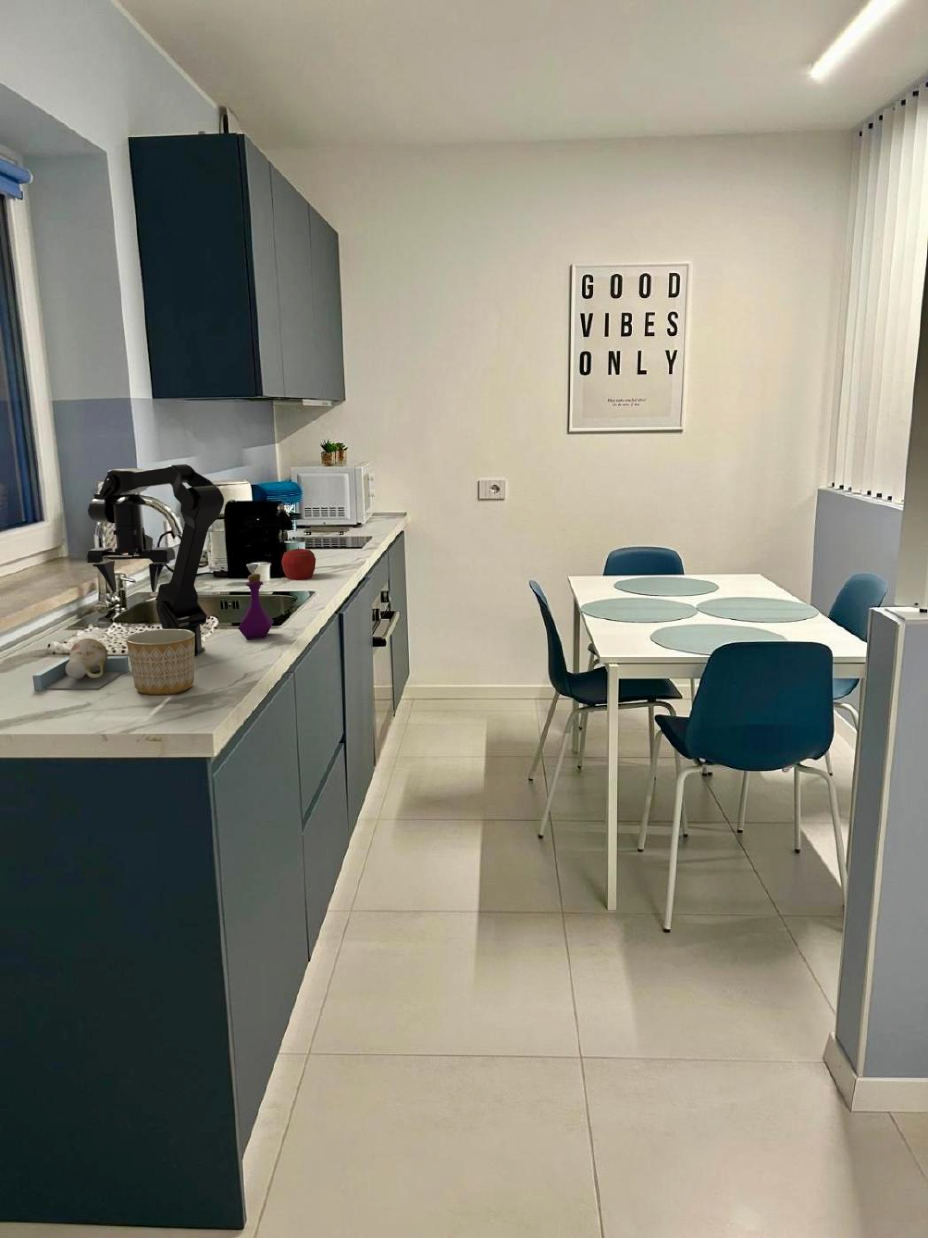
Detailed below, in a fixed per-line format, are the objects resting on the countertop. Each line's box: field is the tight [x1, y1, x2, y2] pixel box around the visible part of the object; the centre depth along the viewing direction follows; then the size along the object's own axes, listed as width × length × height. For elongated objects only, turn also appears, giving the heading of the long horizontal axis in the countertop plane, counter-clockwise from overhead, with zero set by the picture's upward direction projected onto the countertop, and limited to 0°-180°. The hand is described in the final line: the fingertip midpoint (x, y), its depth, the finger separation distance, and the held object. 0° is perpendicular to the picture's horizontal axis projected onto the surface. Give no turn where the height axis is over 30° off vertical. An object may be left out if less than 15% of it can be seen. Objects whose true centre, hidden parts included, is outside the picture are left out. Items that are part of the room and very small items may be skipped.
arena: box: [32, 656, 130, 691], centre depth 189 cm, size 13×14×3 cm
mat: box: [45, 671, 125, 691], centre depth 188 cm, size 11×12×1 cm
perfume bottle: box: [237, 563, 274, 640], centre depth 221 cm, size 8×8×18 cm
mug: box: [65, 638, 109, 679], centre depth 189 cm, size 8×10×10 cm
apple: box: [281, 546, 317, 581], centre depth 295 cm, size 11×11×12 cm
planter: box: [126, 628, 195, 696], centre depth 182 cm, size 13×13×10 cm
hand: (134, 592), depth 215 cm, fingers open, 9 cm apart
